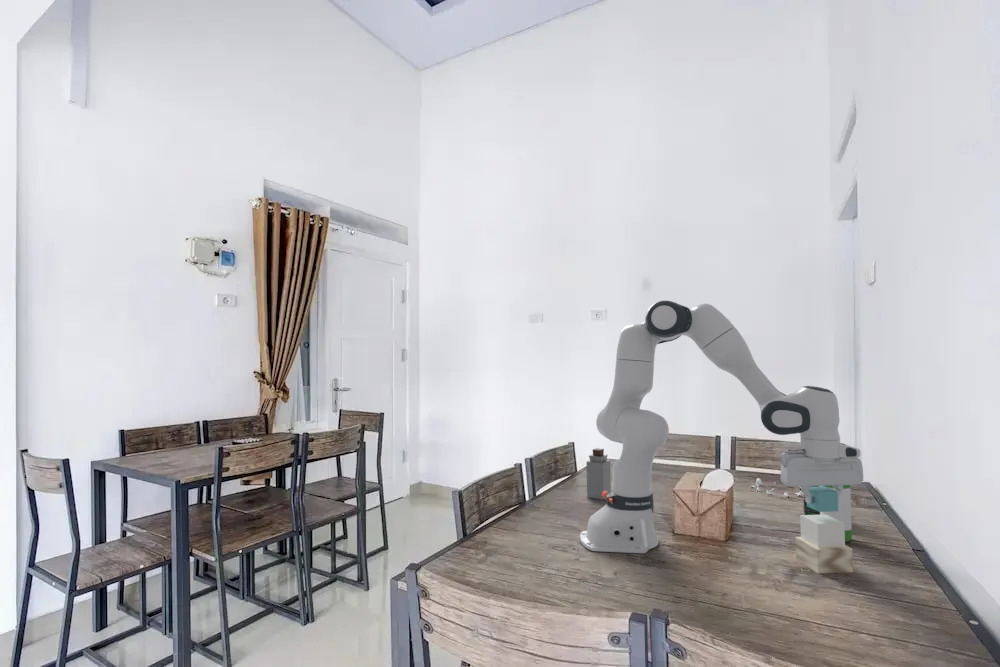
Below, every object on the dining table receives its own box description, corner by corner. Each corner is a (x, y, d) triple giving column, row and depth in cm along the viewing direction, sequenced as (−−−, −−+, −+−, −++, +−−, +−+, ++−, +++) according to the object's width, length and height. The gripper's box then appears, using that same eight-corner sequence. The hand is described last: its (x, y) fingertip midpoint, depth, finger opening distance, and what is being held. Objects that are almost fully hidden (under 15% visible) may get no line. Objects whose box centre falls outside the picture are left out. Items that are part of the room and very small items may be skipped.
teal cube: (819, 511, 132) (818, 492, 132) (806, 505, 137) (806, 486, 137) (838, 511, 133) (837, 491, 133) (825, 505, 138) (824, 486, 138)
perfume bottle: (594, 493, 204) (594, 447, 205) (610, 495, 200) (610, 448, 201) (587, 497, 199) (586, 449, 199) (603, 499, 195) (602, 451, 195)
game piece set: (741, 486, 213) (740, 476, 213) (786, 484, 215) (786, 475, 215) (770, 499, 194) (770, 489, 194) (820, 497, 196) (820, 487, 196)
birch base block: (818, 574, 130) (817, 549, 130) (795, 559, 139) (795, 536, 139) (852, 572, 130) (852, 548, 130) (828, 558, 139) (827, 535, 139)
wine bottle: (824, 541, 151) (820, 437, 152) (817, 532, 158) (814, 433, 159) (855, 544, 148) (852, 438, 149) (847, 535, 155) (844, 434, 156)
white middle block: (818, 548, 131) (817, 523, 131) (800, 537, 138) (800, 515, 138) (845, 547, 131) (844, 523, 131) (826, 537, 138) (825, 514, 138)
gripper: (788, 452, 132) (790, 507, 131) (866, 450, 133) (868, 504, 132) (774, 447, 138) (776, 500, 138) (849, 445, 139) (850, 497, 139)
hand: (822, 502), depth 135 cm, fingers closed on teal cube, 5 cm apart
